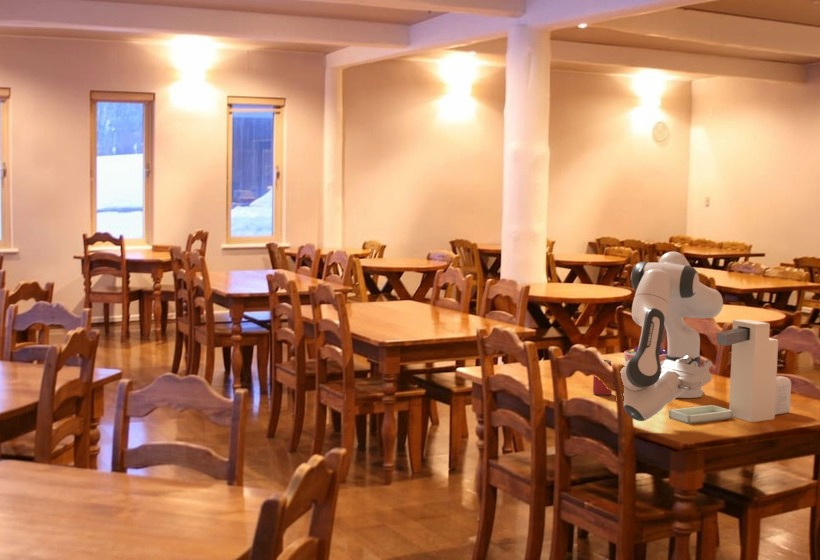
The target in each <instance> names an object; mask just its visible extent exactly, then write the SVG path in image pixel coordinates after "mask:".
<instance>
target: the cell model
mask: <svg viewBox="0 0 820 560" xmlns="http://www.w3.org/2000/svg"><path fill="white" fill-rule="evenodd" d="M638 347H639V346H635V347H634V348H633V349H627V350H624V352H623V354H624V361H625V362H627V361H628V360H630V359H631V358H632V357H633V356H634V355H635V354H636V352H637V350H638ZM667 352H668V349H664V348H663V346H662V345H661V346H660V352H659V359H660V362H662V361H663V360H665V358H664V359H662V358H663V357H665V356H663V355H667Z"/></svg>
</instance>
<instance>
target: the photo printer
mask: <svg viewBox="0 0 820 560" xmlns="http://www.w3.org/2000/svg"><path fill="white" fill-rule="evenodd" d="M791 392H792V381H791V379H790V378H788V377H785V376H781V375H780V376H777V378H776V399H775V416H776V415H782V414H789V413H790V411H791V395H792V394H791Z"/></svg>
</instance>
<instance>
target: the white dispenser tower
mask: <svg viewBox="0 0 820 560" xmlns="http://www.w3.org/2000/svg"><path fill="white" fill-rule="evenodd" d="M770 324H771V323H769V322H764V321H758V320H754V319H753V320H752V319H747V318H745V319H744V318H743V319H733V320H732V329H736V328H740V327H747V328H750V340H747V341H743V342H739V343H735V344H732V345H731V355H730V356H731V357H730V358H731V359H730V377H729V378H730V380H729V382H730V383H729V385H730V386H729V404H728V405H729V406H728V410H732V411H733V418H737V419H738V420H739V419H740V420H742V421H746V422H750V423H757V422H762V421H771V420H775V416H776V415H775V399H776V378H777V375H778V374H777V373H778V358H779V357H778V355H779V354H778V352H779V351H778V350H779V339H776V338H771V337H770V330H771V329H770V328H771V325H770Z"/></svg>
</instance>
